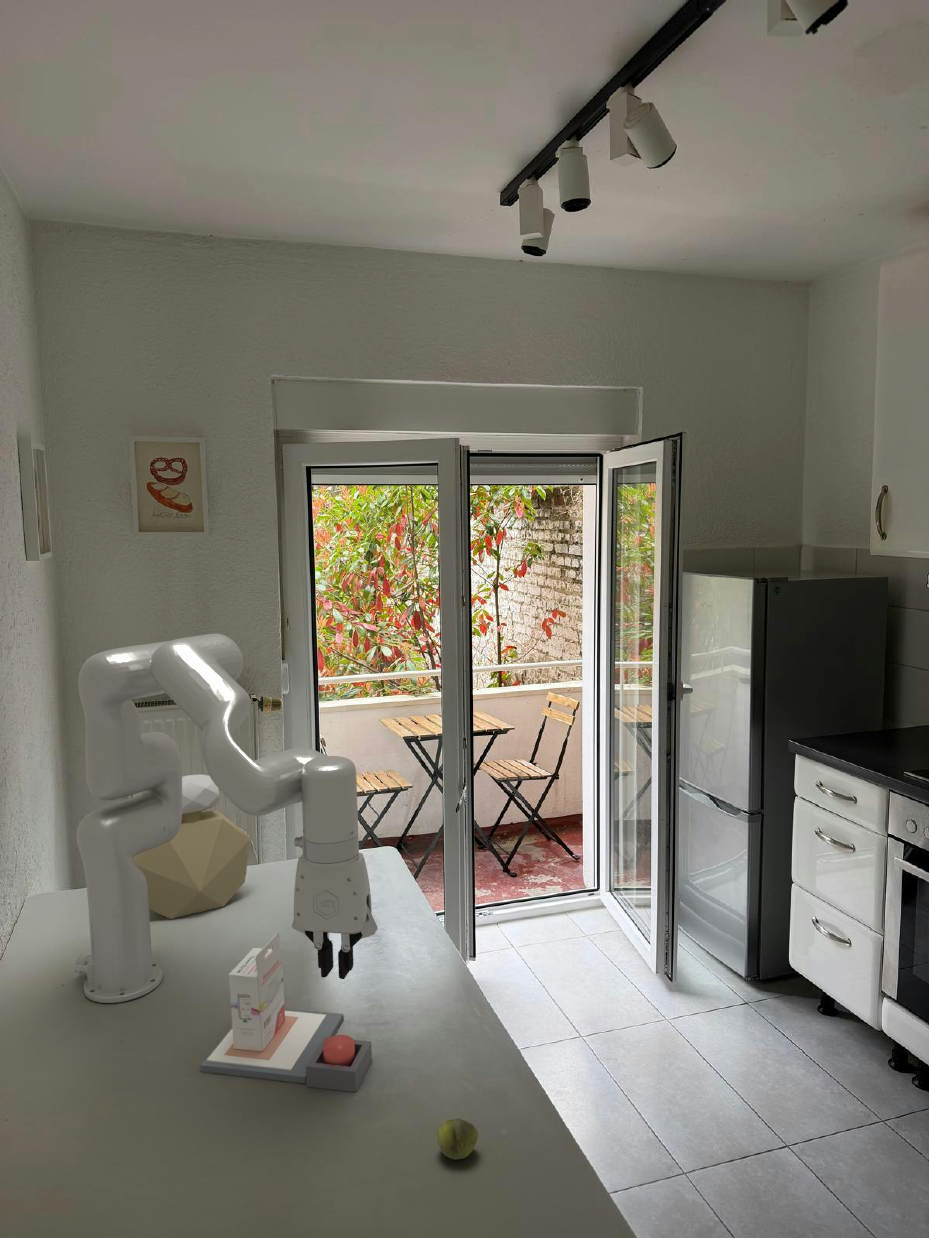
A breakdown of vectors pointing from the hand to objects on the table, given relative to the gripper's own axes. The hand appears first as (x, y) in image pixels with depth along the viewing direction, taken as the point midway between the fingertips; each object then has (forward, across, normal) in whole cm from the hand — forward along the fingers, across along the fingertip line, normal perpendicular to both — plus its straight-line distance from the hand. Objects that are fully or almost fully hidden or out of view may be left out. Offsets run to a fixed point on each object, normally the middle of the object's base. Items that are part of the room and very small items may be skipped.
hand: (336, 972), depth 122 cm
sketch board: (+15, -12, +5) cm, 20 cm away
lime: (+15, +20, -13) cm, 28 cm away
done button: (+14, 0, 0) cm, 14 cm away
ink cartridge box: (+14, -14, +5) cm, 21 cm away
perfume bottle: (+15, -48, +47) cm, 69 cm away
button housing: (+15, 0, 0) cm, 15 cm away
